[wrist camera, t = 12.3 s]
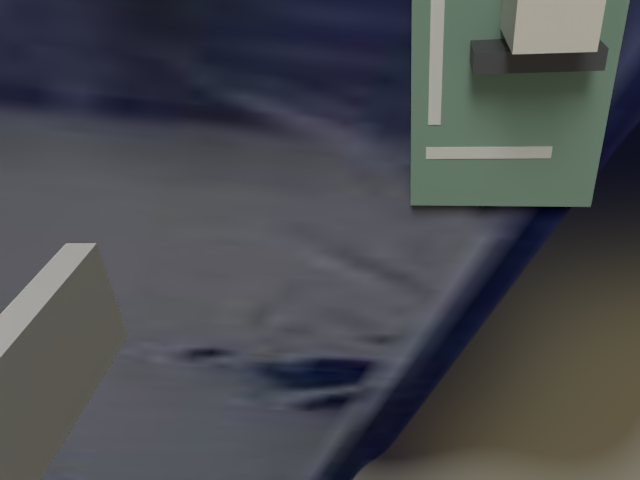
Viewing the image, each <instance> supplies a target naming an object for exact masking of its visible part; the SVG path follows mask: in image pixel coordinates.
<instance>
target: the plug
mask: <svg viewBox="0 0 640 480" xmlns="http://www.w3.org/2000/svg"><path fill="white" fill-rule="evenodd" d="M605 5H606V0H503V2H502V13H501V25H500V29H501V31H502V33H503V35H504V38H505V40H506V42H507V44H508V46H509V48H510V51H511V53H512V54H544V53H577V52H597V51H598V45H599V39H600V34H601V28H602V22H603V16H604V11H605Z"/></svg>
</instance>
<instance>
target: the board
mask: <svg viewBox="0 0 640 480" xmlns="http://www.w3.org/2000/svg"><path fill="white" fill-rule="evenodd" d="M502 2H503V0H412V51H411V205H432V206H548V207H591V202H592V197H593V192H594V186H595V181H596V176H597V171H598V165H599V160H600V155H601V149H602V144H603V139H604V134H605V128H606V123H607V118H608V113H609V107H610V102H611V97H612V91H613V86H614V81H615V76H616V70H617V65H618V60H619V54H620V49H621V44H622V39H623V33H624V28H625V23H626V18H627V12H628V7H629V2H630V0H606V5H605V11H604V16H603V22H602V28H601V34H600V39H599V45H598V51H597V52H577V53H544V54H512V53H511V51H510V48H509V46H508V44H507V42H506V40H505V38H504V35H503V33H502V31H501V29H500V25H501V13H502Z"/></svg>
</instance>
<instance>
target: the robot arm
mask: <svg viewBox="0 0 640 480" xmlns="http://www.w3.org/2000/svg"><path fill="white" fill-rule="evenodd" d="M128 336H129V335H128V332H127V330H126V327H125V324H124V321H123V318H122V315H121V312H120V309H119V306H118V303H117V301H116V298H115V295H114V292H113V289H112V286H111V283H110V280H109V277H108V274H107V271H106V269H105V266H104V263H103V260H102V257H101V254H100V251H99V248H98V245H97V243H66V244H65V245H64V246H63V247H62V248H61V249H60V250H59V251H58V252H57V254H56V255H55V256H54V257H53V258H52V259H51V260H50V261H49V262H48V263H47V264H46V265H45V267H44V268H43V269H42V270H41V271H40V272H39V273H38V274H37V275H36V276H35V277H34V278H33V279H32V281H31V282H30V283H29V284H28V285H27V286H26V287H25V288H24V289H23V290H22V291H21V292H20V294H19V295H18V296H17V297H16V298H15V299H14V300H13V301H12V302H11V303H10V304H9V305H8V306H7V308H6V309H5V310H4V311H3V312H2V313H1V314H0V480H41V479H42V477H43V476H44V474H45V472H46V471H47V469H48V468H49V466H50V464H51V463H52V461H53V459H54V458H55V456H56V454H57V453H58V451H59V449H60V448H61V446H62V444H63V443H64V441H65V439H66V438H67V436H68V435H69V433H70V431H71V430H72V428H73V426H74V425H75V423H76V421H77V420H78V418H79V416H80V415H81V413H82V411H83V410H84V408H85V407H86V405H87V403H88V402H89V400H90V398H91V397H92V395H93V393H94V392H95V390H96V388H97V387H98V385H99V383H100V382H101V380H102V378H103V377H104V375H105V374H106V372H107V370H108V369H109V367H110V365H111V364H112V362H113V360H114V359H115V357H116V355H117V354H118V352H119V350H120V349H121V347H122V345H123V344H124V342H125V341H126V339H127V337H128Z"/></svg>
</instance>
